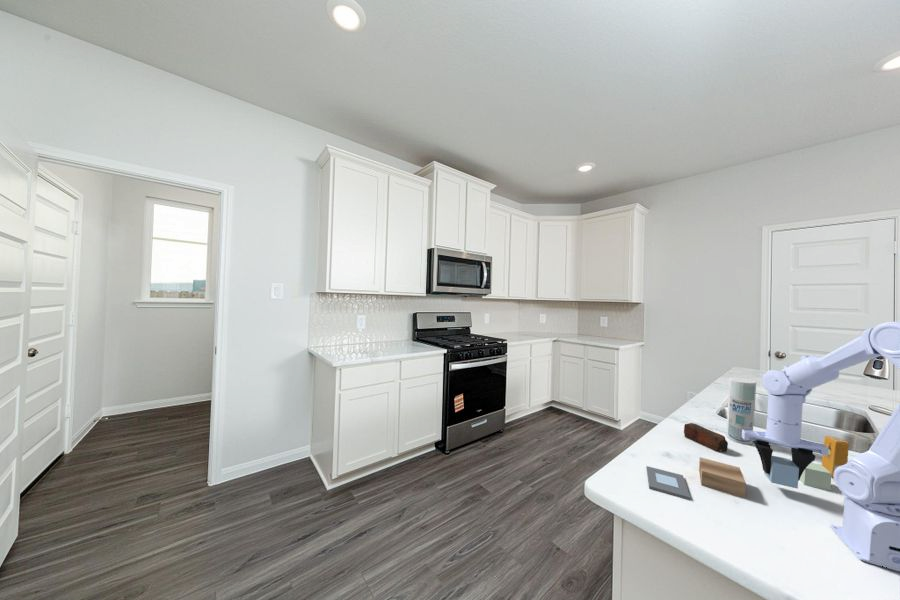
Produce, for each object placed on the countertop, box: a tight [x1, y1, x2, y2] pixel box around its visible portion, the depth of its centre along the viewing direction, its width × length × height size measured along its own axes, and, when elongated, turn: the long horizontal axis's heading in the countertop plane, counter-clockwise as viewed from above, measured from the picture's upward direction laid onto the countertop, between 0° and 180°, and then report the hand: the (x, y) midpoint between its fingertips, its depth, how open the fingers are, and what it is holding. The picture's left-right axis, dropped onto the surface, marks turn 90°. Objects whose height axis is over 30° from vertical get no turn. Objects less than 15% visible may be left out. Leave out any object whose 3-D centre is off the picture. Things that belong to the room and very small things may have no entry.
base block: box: [698, 457, 747, 499], centre depth 78 cm, size 8×8×4 cm
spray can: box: [725, 376, 757, 445], centre depth 102 cm, size 6×6×20 cm
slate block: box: [763, 455, 799, 489], centre depth 76 cm, size 4×4×5 cm
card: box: [646, 465, 691, 501], centre depth 78 cm, size 10×8×1 cm
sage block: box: [799, 462, 832, 492], centre depth 79 cm, size 4×4×4 cm
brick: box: [683, 422, 729, 453], centre depth 99 cm, size 11×4×5 cm, turn 18°
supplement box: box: [821, 435, 850, 479], centre depth 83 cm, size 3×3×10 cm
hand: (780, 474), depth 76 cm, fingers closed on slate block, 4 cm apart
